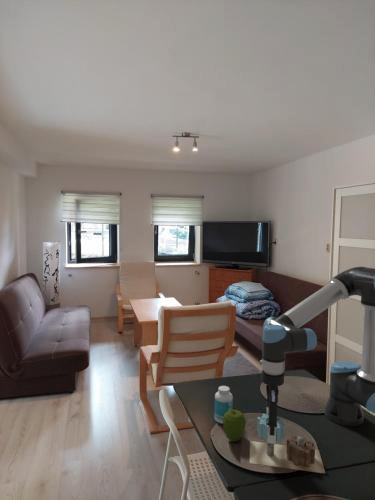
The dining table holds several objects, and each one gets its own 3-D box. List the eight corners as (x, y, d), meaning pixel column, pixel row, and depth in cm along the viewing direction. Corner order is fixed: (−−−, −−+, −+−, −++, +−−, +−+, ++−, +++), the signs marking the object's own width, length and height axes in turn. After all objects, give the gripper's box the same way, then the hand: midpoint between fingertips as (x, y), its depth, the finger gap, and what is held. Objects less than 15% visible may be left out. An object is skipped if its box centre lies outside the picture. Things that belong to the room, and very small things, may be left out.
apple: (229, 449, 124) (230, 419, 123) (218, 436, 132) (218, 407, 131) (249, 444, 128) (250, 414, 127) (237, 431, 135) (238, 403, 134)
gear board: (318, 453, 123) (319, 430, 122) (325, 477, 111) (326, 452, 110) (249, 444, 127) (250, 422, 127) (249, 467, 115) (250, 442, 115)
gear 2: (311, 451, 122) (312, 437, 121) (316, 468, 113) (317, 454, 112) (285, 447, 123) (286, 434, 123) (288, 464, 114) (288, 450, 114)
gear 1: (255, 426, 124) (255, 413, 124) (280, 427, 124) (280, 413, 123) (260, 442, 115) (260, 428, 115) (287, 443, 115) (287, 428, 114)
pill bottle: (231, 425, 139) (232, 393, 138) (213, 423, 140) (213, 391, 139) (232, 415, 146) (233, 385, 145) (215, 413, 148) (216, 383, 147)
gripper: (260, 357, 129) (259, 415, 131) (262, 384, 108) (260, 452, 109) (281, 359, 128) (279, 417, 129) (287, 386, 106) (284, 456, 108)
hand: (270, 433), depth 119 cm, fingers closed on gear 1, 9 cm apart
